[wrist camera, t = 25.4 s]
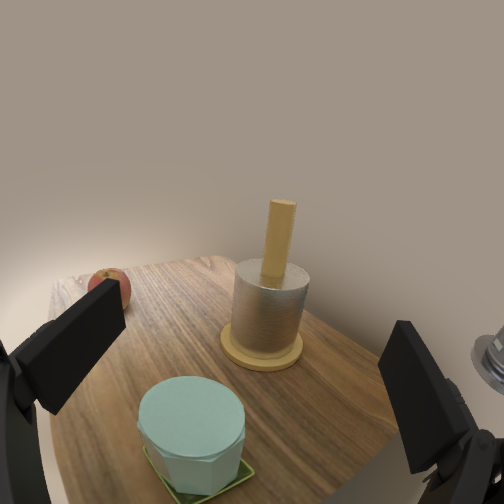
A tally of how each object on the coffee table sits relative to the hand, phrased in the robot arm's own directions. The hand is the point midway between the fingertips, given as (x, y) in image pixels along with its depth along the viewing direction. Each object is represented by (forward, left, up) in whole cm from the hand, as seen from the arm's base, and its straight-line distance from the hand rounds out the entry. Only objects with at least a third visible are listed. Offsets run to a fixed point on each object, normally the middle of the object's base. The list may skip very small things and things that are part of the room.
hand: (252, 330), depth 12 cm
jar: (+2, +3, -20) cm, 21 cm away
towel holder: (+26, -6, -22) cm, 35 cm away
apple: (+32, +23, -22) cm, 46 cm away
